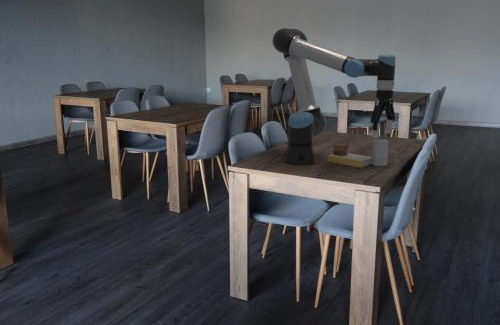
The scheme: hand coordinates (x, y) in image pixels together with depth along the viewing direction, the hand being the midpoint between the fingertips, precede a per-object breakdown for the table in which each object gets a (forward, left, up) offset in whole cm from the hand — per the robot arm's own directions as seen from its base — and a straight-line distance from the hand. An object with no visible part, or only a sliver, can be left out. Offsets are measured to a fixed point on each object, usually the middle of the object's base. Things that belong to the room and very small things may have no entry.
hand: (382, 135), depth 215 cm
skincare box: (0, 0, -15) cm, 15 cm away
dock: (-5, +13, -14) cm, 20 cm away
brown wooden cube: (-5, +19, -11) cm, 22 cm away
